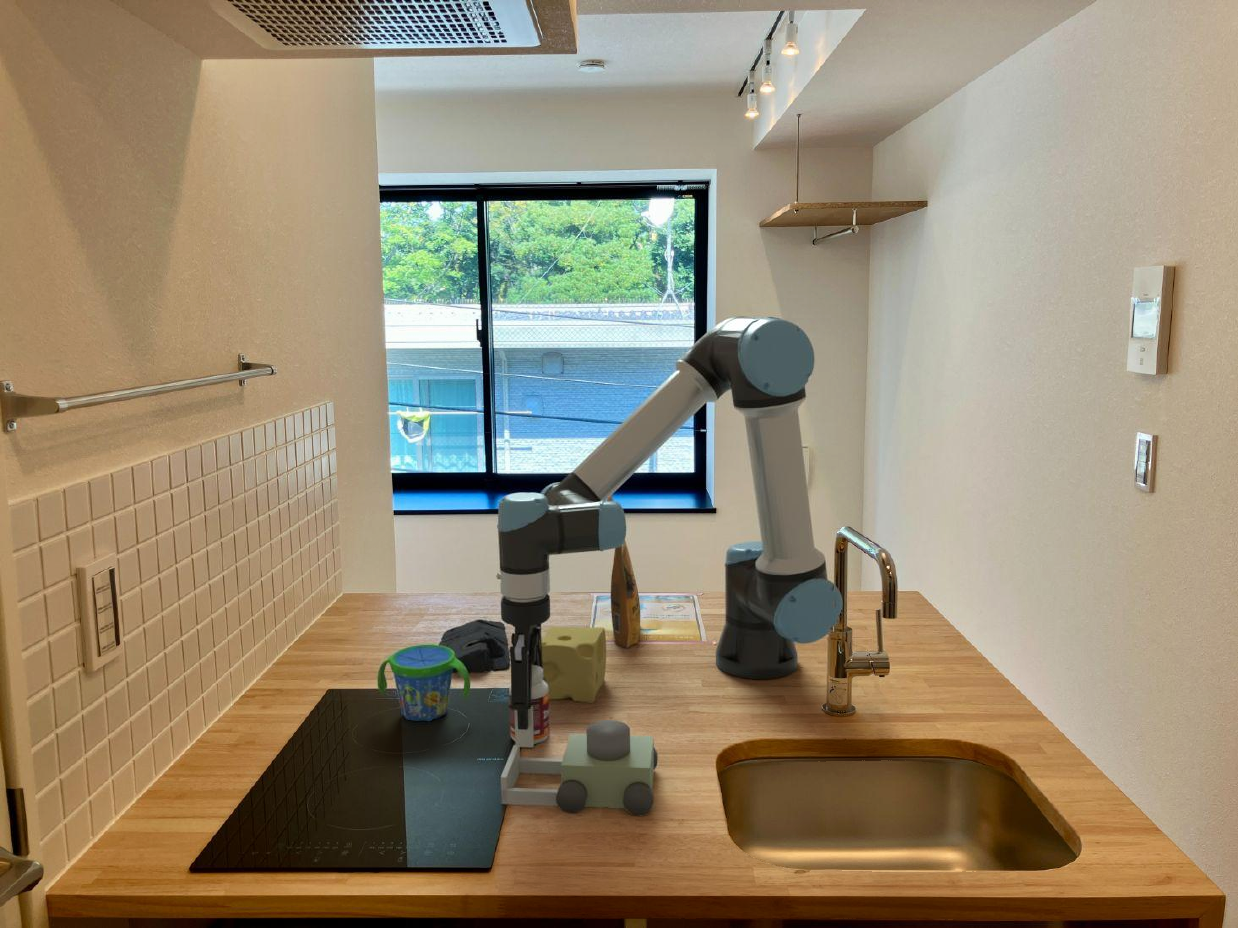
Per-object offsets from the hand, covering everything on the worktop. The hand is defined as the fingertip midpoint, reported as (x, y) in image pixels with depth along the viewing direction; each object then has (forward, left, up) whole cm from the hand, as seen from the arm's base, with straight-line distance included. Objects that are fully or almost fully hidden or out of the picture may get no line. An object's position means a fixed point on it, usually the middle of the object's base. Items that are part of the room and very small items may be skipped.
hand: (529, 734), depth 144 cm
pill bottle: (0, 0, -1) cm, 1 cm away
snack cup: (+19, -7, -1) cm, 20 cm away
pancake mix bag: (-11, -45, -1) cm, 46 cm away
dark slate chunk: (+17, -34, -1) cm, 39 cm away
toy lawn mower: (-10, +15, 0) cm, 18 cm away
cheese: (-4, -18, -1) cm, 18 cm away
